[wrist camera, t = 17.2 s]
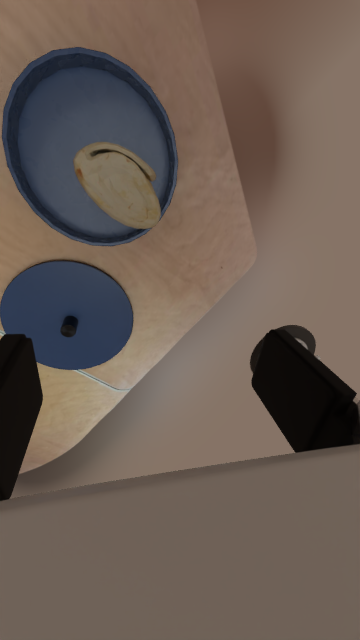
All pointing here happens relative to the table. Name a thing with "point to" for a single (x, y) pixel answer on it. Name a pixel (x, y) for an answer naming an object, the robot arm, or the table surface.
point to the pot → (83, 138)
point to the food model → (118, 183)
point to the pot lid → (68, 314)
